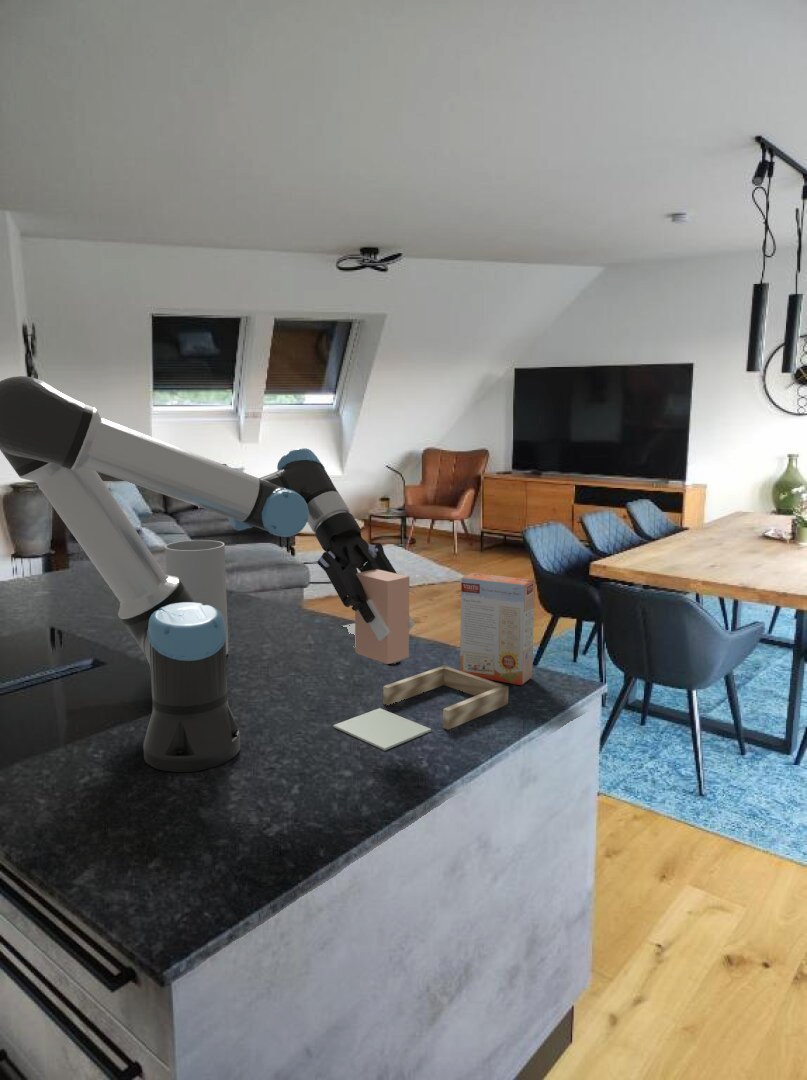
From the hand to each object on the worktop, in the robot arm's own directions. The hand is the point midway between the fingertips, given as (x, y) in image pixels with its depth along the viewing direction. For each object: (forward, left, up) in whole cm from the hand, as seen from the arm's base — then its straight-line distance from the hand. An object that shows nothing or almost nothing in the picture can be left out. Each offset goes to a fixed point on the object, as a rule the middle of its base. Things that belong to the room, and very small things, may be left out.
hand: (397, 632), depth 132 cm
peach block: (0, +4, -5) cm, 6 cm away
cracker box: (+35, +7, -18) cm, 40 cm away
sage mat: (0, +4, -18) cm, 19 cm away
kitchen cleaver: (+30, +42, -19) cm, 55 cm away
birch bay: (+16, +4, -18) cm, 24 cm away
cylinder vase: (-2, +61, -18) cm, 63 cm away
